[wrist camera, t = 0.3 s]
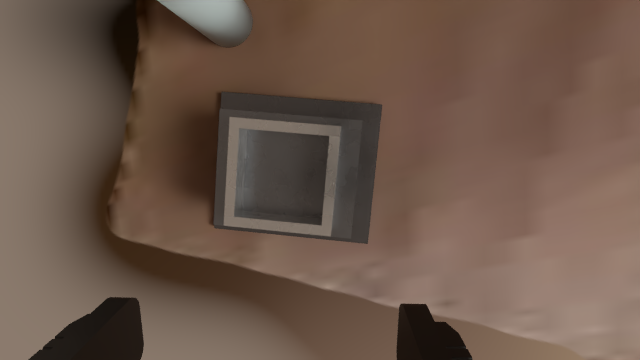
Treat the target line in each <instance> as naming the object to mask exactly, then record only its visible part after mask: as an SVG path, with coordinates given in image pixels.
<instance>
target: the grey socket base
mask: <svg viewBox="0 0 640 360" xmlns="http://www.w3.org/2000/svg"><path fill="white" fill-rule="evenodd" d="M381 110H382V105H380V104H367V103H355V102H342V101H330V100H317V99H305V98H293V97H280V96H268V95H255V94H243V93H230V92H222V93H221V109H220V111H219V130H218V149H217V168H216V187H215V206H214V228H218V229H228V230H238V231H248V232H258V233H267V234H277V235H287V236H297V237H306V238H316V239H326V240H336V241H346V242H355V243H365V244H368V235H369V226H370V216H371V206H372V197H373V187H374V178H375V168H376V158H377V149H378V139H379V129H380V120H381Z"/></svg>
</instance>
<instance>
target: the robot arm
mask: <svg viewBox="0 0 640 360" xmlns="http://www.w3.org/2000/svg"><path fill="white" fill-rule="evenodd" d="M143 346H144V342H143V333H142V323H141V314H140V306H139V302H138V300H137V299H136V298H121V297H110V298H107V299H106V300H105V301H104V302H103V303H102V304H101V305H99V306H98V307H97V308H96V309H95V310H94V311H93V312H92V313H91V314H87V315H85V316H83V317H82V318H80V319H78V320H76V321H74V322H72V323H71V324H69V325H68V326H67V327H66V328H64V329H63V330H62V331H61V332H60V333H59V334H58V335H56V336H55V339H52V340H51V341H49V343H47V344H46V345H45V346H44V347H43V349H42V350H39V351H38V352H37V353H36V354H34V356H32V357H31V358H30V359H29V360H140V359H141V357H142V353H143ZM397 360H472V356H471V355H470V353H469V351H468V349H466V346H465V344H464V342H463V340H462V339H461V337H460V335H459V333H458V332H456V331H455V330H454V329H453V328H451V326H449V325H448V324H447V323H446V322H434V320H433V318H432V315H431V313H430V311H429V309H428V307H427V305H426V304H400V307H399V319H398V335H397Z"/></svg>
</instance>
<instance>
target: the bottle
mask: <svg viewBox="0 0 640 360" xmlns="http://www.w3.org/2000/svg"><path fill="white" fill-rule="evenodd" d="M157 1H159V2H160V3H161V4H163V5H164V6H165V7H167V8H168V9H169V10H171V11H172V12H173V13H175V14H176V15H177V16H179V17H180V18H182V19H183V20H184V21H186V22H187V23H188V24H190V25H191V26H192V27H194V28H195V29H196V30H198V31H199V32H200V33H202V34H203V35H204V36H206V37H207V38H209V39H210V40H211V41H213V42H214V43H215V44H217V45H219V46H222V47H235V46H238V45H240V44H241V43H243V42H244V41H245V40H246V39H247V38H248V36H249V34H250V32H251V30H252V24H253V19H252V14H251V11H250V9H249V7H248V6H247V4H246V3H245V2H244V0H157Z"/></svg>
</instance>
